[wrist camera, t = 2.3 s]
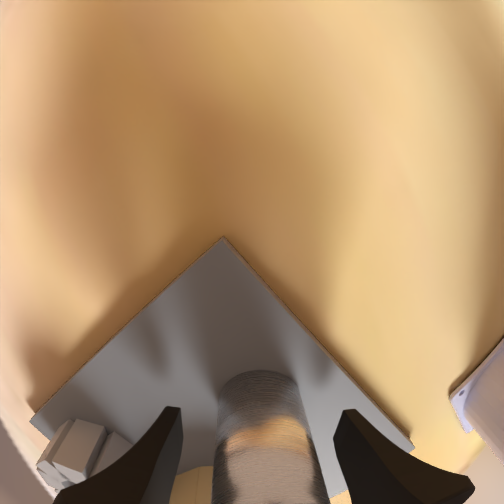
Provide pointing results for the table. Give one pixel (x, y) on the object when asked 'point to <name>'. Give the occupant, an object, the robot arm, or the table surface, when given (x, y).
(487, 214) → the table surface
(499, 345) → the robot arm
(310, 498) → the metal cylinder
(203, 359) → the fitting board
